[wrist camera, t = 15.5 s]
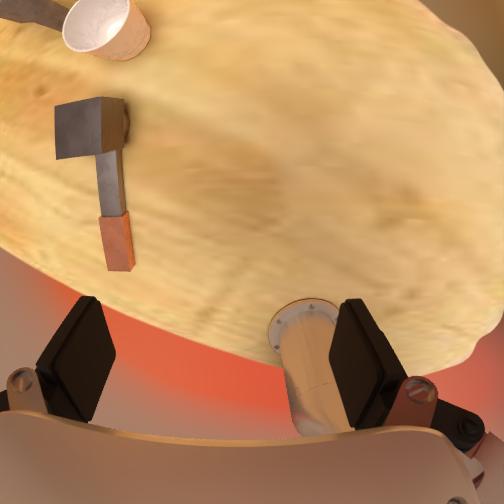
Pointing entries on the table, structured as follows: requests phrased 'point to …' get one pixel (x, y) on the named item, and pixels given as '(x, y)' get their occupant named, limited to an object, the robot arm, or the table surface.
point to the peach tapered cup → (106, 29)
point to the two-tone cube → (89, 127)
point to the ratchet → (114, 209)
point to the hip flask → (34, 12)
